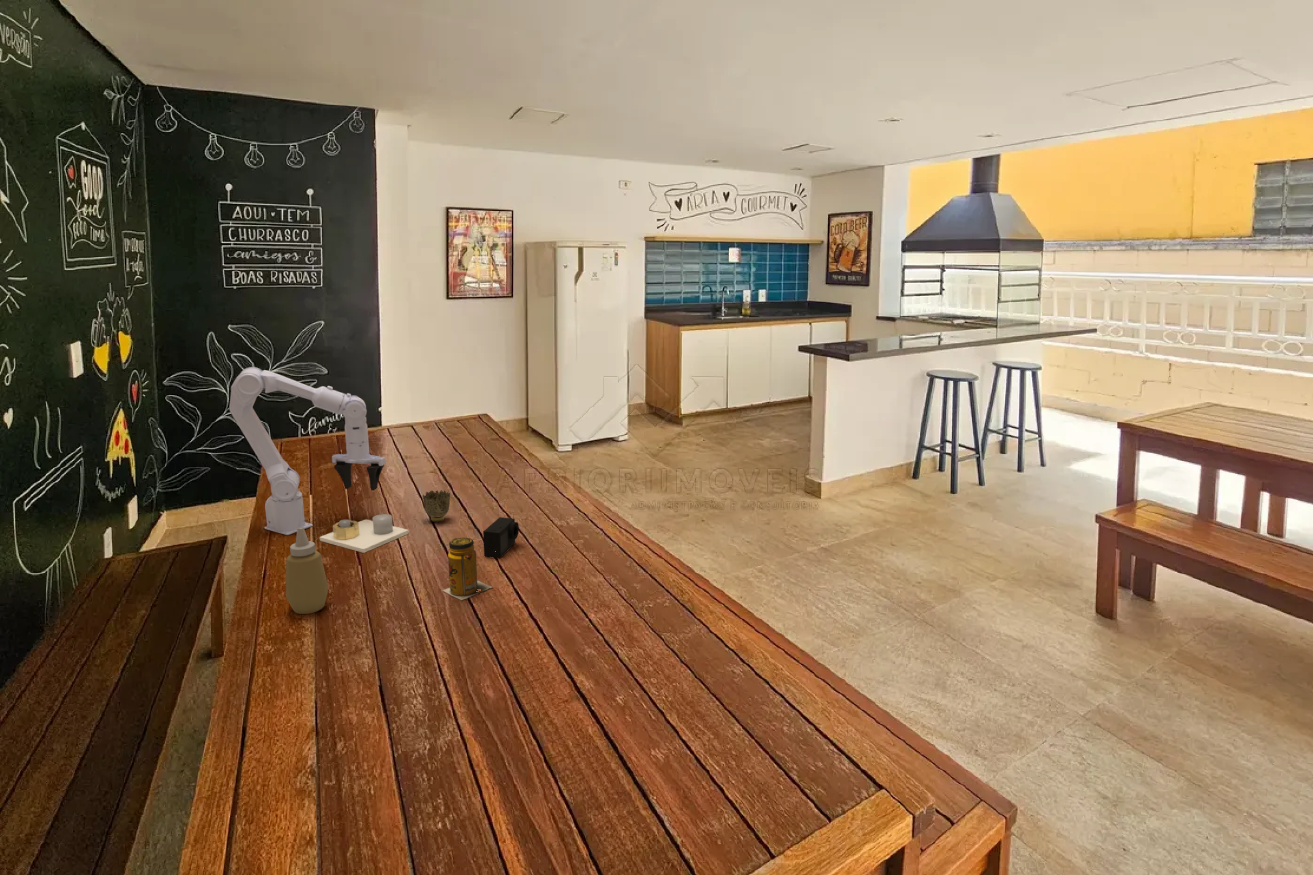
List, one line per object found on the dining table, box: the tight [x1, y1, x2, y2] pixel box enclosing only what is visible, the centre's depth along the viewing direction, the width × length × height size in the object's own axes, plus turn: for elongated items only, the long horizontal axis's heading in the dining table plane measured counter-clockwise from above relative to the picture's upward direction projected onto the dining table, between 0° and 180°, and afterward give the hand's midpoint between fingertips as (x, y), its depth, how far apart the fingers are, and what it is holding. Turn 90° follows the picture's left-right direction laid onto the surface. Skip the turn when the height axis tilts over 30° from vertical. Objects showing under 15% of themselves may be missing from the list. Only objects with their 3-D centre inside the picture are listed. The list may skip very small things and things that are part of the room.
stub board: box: [319, 513, 409, 554], centre depth 189 cm, size 16×15×5 cm
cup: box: [422, 489, 451, 523], centre depth 201 cm, size 8×7×8 cm
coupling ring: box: [332, 520, 359, 540], centre depth 187 cm, size 6×6×3 cm
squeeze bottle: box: [285, 528, 329, 615], centre depth 149 cm, size 8×8×18 cm
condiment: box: [442, 536, 493, 601], centre depth 160 cm, size 7×8×12 cm
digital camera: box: [482, 517, 520, 559], centre depth 182 cm, size 10×5×7 cm, turn 170°
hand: (361, 488), depth 199 cm, fingers open, 7 cm apart
